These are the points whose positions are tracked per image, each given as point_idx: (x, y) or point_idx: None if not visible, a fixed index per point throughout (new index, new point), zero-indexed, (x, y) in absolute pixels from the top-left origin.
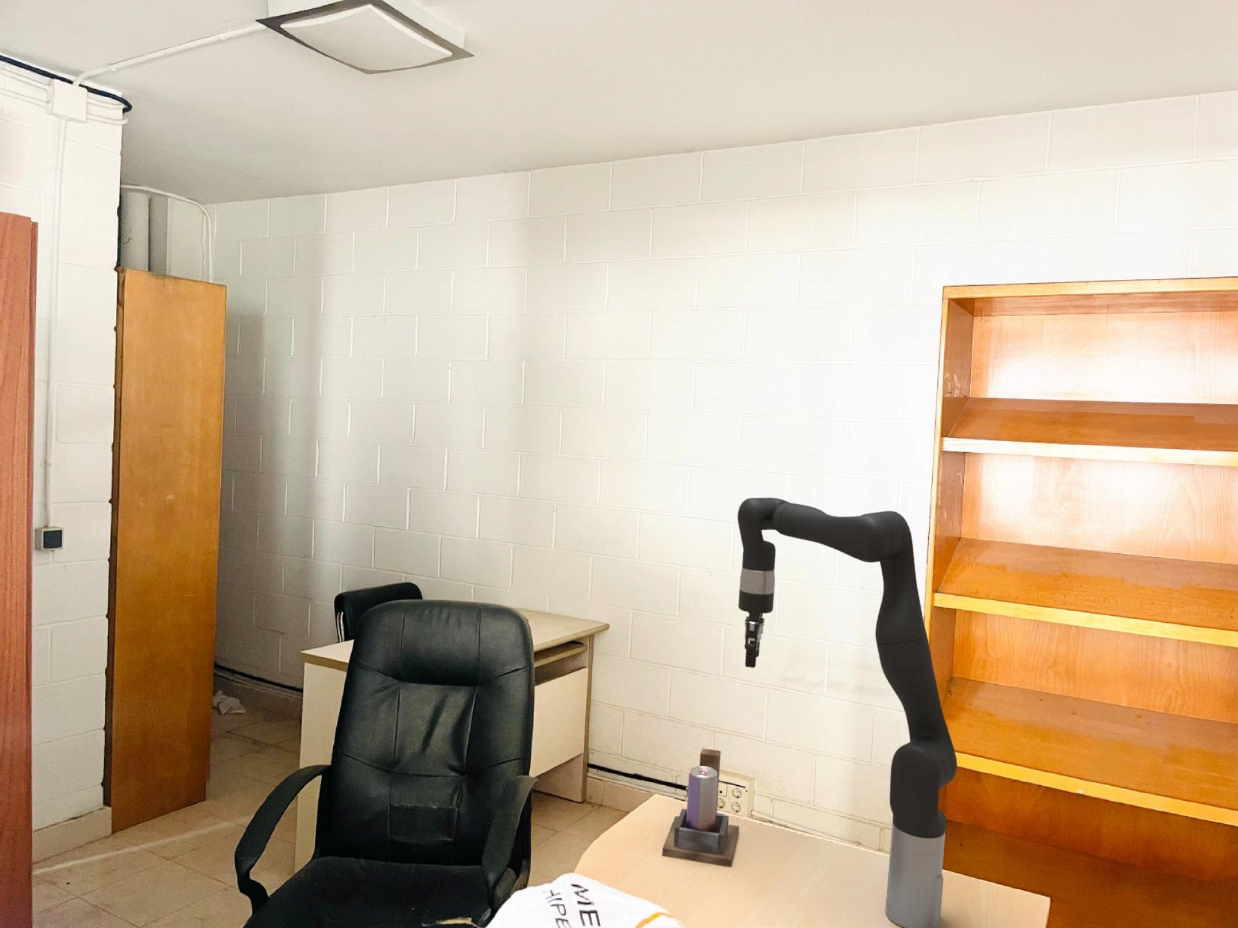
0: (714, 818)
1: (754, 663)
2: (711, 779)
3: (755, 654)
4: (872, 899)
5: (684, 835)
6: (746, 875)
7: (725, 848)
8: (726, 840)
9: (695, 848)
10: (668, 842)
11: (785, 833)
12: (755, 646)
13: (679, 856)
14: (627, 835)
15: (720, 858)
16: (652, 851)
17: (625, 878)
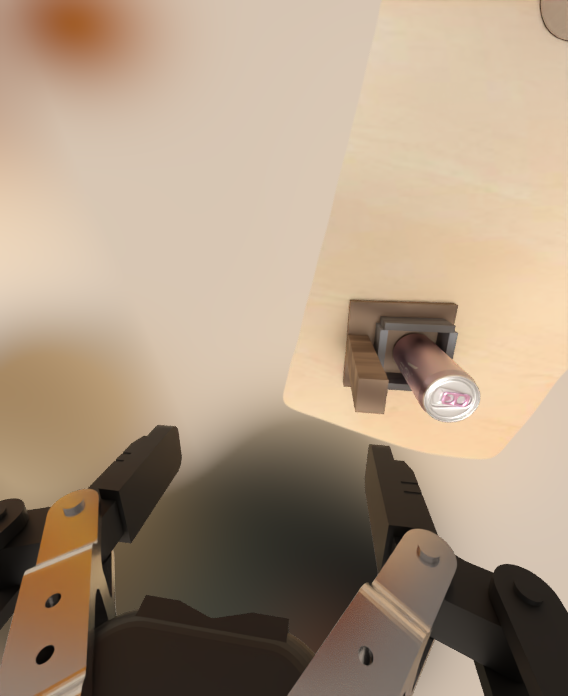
0: (434, 345)
1: (390, 462)
2: (474, 382)
3: (406, 507)
4: (530, 69)
5: None
6: (475, 280)
7: (424, 315)
8: (400, 316)
9: None
10: None
11: (332, 231)
12: (563, 617)
13: None
14: (392, 429)
15: (454, 320)
16: None
17: (502, 420)
